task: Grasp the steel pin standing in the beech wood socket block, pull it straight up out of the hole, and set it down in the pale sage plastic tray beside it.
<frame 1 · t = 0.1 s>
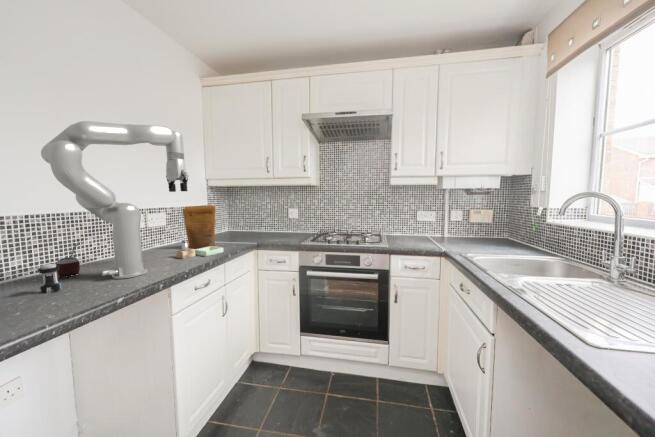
hand: (178, 191, 130), 37 cm above the worktop, tool pointing down, fingers open, 9 cm apart
socket block: (185, 256, 143), on the worktop
pancake mix bag: (202, 248, 168), on the worktop
tray: (208, 253, 151), on the worktop
push button: (49, 292, 93), on the worktop
steel pin: (185, 248, 143), in the socket block
manual coffee grinder: (71, 276, 111), on the worktop
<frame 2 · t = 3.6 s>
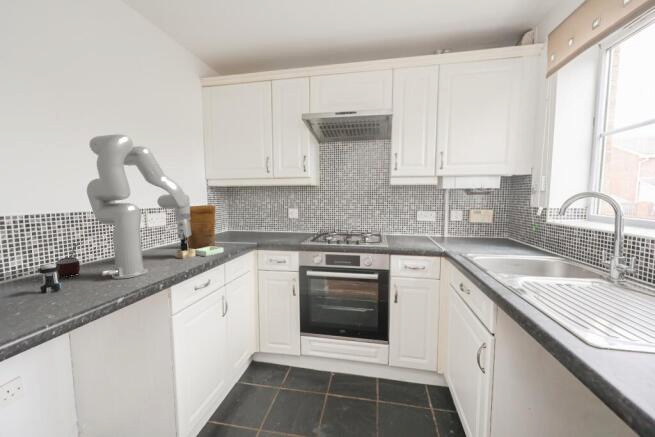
hand: (185, 249, 143), 5 cm above the worktop, tool pointing down, fingers closed on steel pin, 3 cm apart
steel pin: (185, 248, 143), in the socket block, touching gripper
everything else where it was.
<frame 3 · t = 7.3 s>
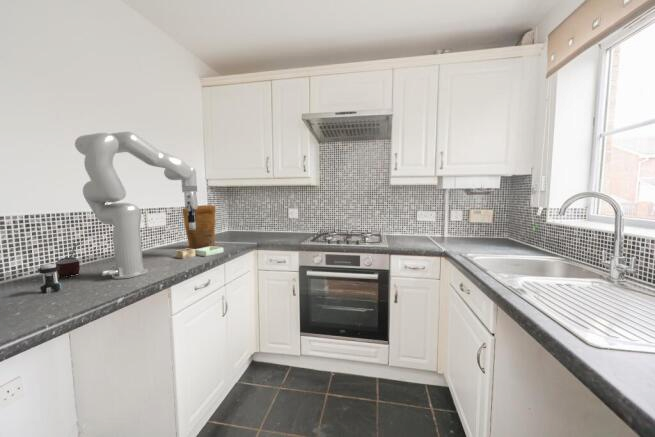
hand: (192, 221, 145), 20 cm above the worktop, tool pointing down, fingers closed on steel pin, 3 cm apart
steel pin: (192, 221, 144), point 20 cm above the worktop, touching gripper
everything else where it was.
when the fingers open (6 cm above the worktop, at t = 10.9 s): steel pin drops 1 cm, resting on tray.
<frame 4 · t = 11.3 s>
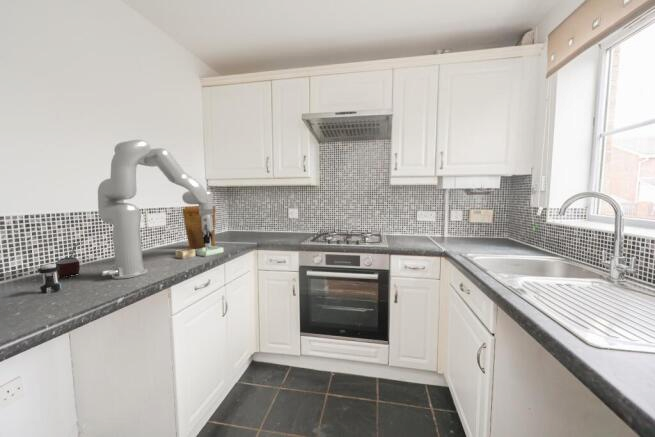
hand: (208, 241, 150), 7 cm above the worktop, tool pointing down, fingers open, 7 cm apart
steel pin: (208, 244, 150), in the tray, point 5 cm above the worktop
everything else where it was.
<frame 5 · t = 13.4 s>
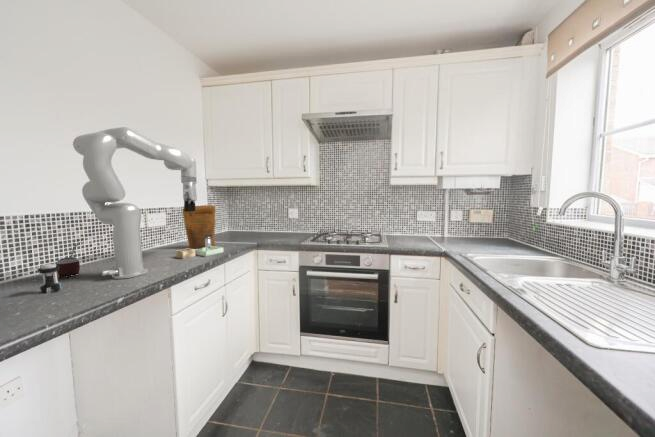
hand: (190, 211, 143), 26 cm above the worktop, tool pointing down, fingers open, 9 cm apart
nothing on the worktop moved.
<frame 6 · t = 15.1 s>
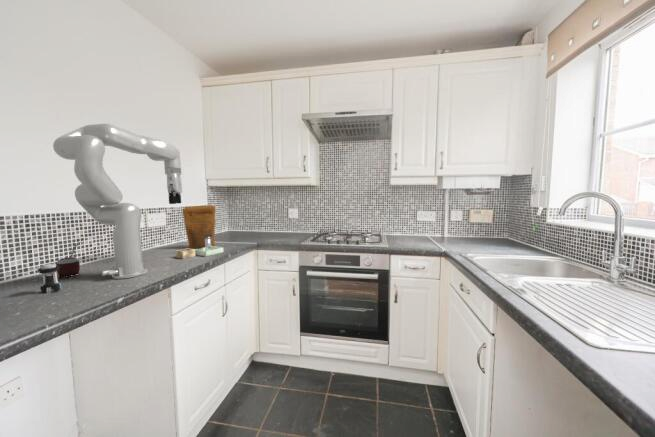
hand: (175, 203, 139), 30 cm above the worktop, tool pointing down, fingers open, 9 cm apart
nothing on the worktop moved.
at the end: steel pin inside the target area on the tray (0.1 cm from its centre), point 5.3 cm above the tray's base; the gripper is holding nothing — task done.
